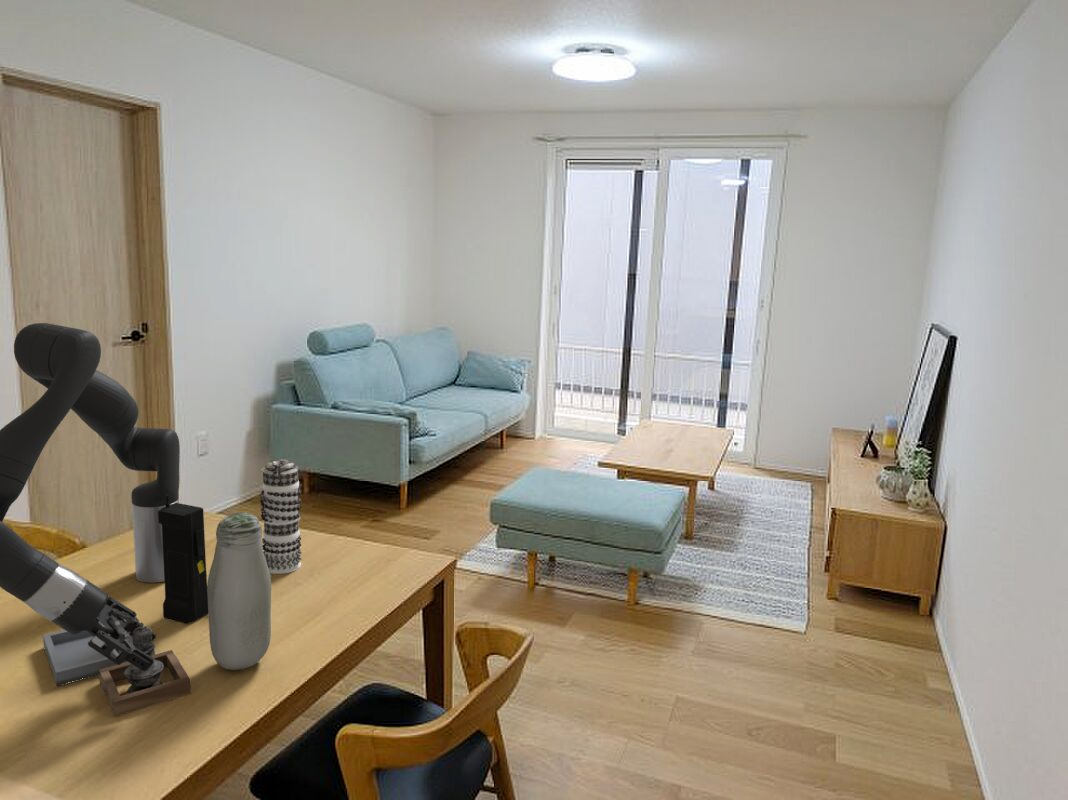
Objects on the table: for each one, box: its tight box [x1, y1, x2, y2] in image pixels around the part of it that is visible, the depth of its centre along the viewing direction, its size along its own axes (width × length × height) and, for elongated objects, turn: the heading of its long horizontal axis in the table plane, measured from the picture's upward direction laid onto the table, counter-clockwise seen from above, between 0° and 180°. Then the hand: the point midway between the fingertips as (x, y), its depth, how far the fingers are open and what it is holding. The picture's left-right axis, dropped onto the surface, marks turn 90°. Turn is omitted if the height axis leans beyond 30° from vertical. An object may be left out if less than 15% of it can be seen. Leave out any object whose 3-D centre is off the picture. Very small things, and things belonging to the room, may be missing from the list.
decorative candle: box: [259, 459, 303, 575], centre depth 176 cm, size 9×9×25 cm
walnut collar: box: [98, 649, 192, 718], centre depth 128 cm, size 11×11×2 cm
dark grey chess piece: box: [124, 621, 164, 694], centre depth 127 cm, size 6×6×12 cm
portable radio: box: [158, 495, 208, 625], centre depth 151 cm, size 8×6×25 cm
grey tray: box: [42, 615, 155, 687], centre depth 138 cm, size 15×15×2 cm
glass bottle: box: [207, 512, 272, 671], centre depth 134 cm, size 10×10×28 cm
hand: (151, 652), depth 128 cm, fingers open, 8 cm apart
